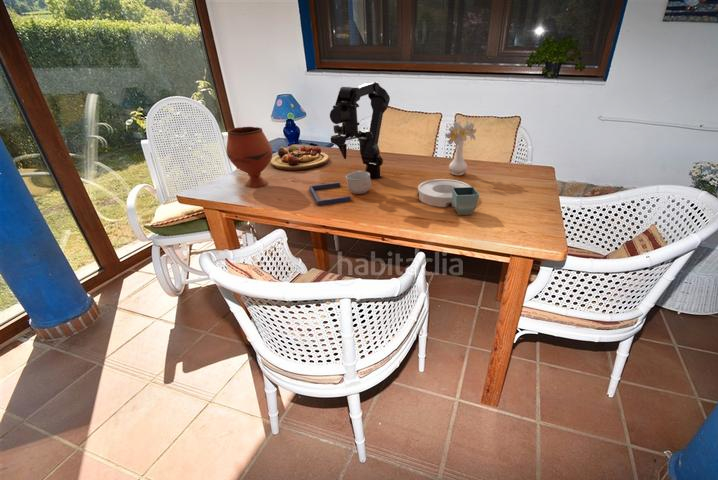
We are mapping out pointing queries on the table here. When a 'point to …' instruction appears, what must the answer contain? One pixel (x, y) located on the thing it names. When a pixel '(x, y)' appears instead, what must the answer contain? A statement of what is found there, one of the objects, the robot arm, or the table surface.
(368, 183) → the teacup
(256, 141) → the goblet
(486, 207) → the table surface
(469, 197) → the flower pot
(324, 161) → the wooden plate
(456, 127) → the flower vase
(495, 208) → the table surface
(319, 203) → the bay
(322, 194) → the table surface
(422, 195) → the ashtray
